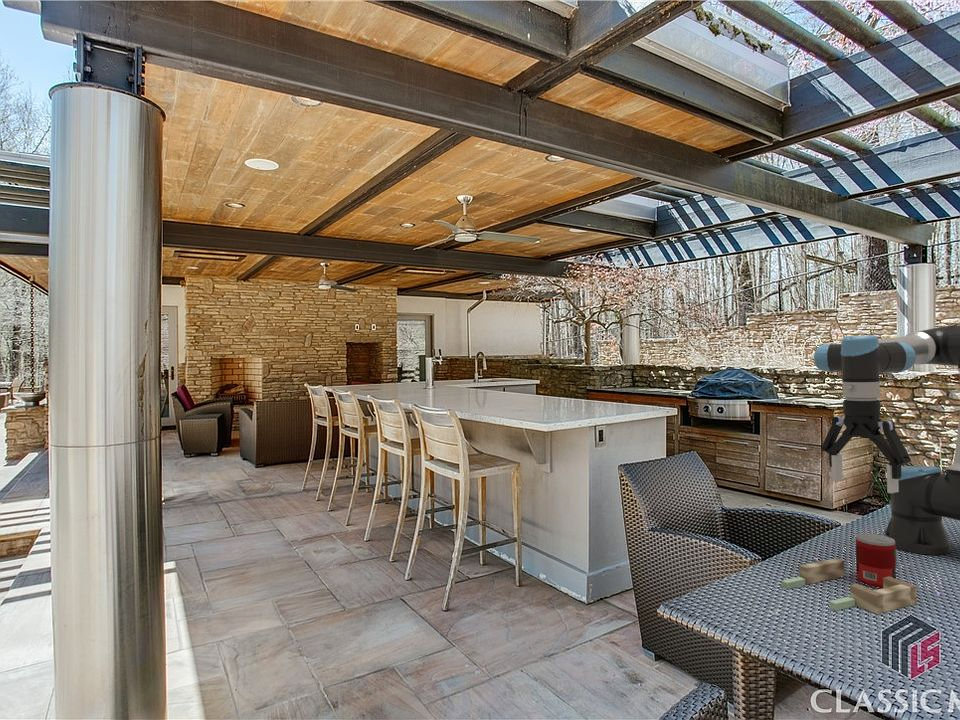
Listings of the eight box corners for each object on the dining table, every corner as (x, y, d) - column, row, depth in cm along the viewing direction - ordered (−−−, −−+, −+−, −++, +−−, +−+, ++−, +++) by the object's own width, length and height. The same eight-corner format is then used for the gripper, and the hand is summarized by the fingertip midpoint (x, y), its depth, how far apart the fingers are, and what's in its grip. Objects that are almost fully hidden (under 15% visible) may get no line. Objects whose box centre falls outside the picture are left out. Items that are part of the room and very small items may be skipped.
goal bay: (799, 582, 139) (799, 576, 139) (855, 606, 126) (854, 599, 126) (781, 586, 137) (781, 580, 137) (835, 610, 124) (835, 603, 124)
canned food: (902, 590, 134) (901, 543, 134) (865, 587, 135) (864, 542, 135) (886, 577, 141) (885, 533, 141) (851, 575, 143) (850, 532, 143)
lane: (837, 573, 144) (836, 558, 144) (916, 603, 126) (916, 586, 126) (799, 581, 139) (799, 565, 139) (876, 614, 122) (876, 595, 122)
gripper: (804, 397, 147) (806, 478, 147) (905, 403, 123) (908, 500, 124) (824, 395, 149) (827, 474, 150) (927, 401, 126) (930, 495, 126)
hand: (864, 486), depth 137 cm, fingers open, 13 cm apart
